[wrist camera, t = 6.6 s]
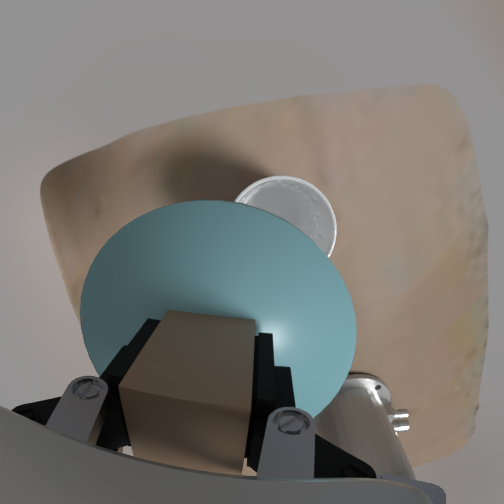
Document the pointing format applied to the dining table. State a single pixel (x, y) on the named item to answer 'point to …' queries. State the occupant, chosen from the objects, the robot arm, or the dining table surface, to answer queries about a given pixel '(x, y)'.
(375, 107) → the dining table surface
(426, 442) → the dining table surface
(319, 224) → the white cup
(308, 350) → the lid
